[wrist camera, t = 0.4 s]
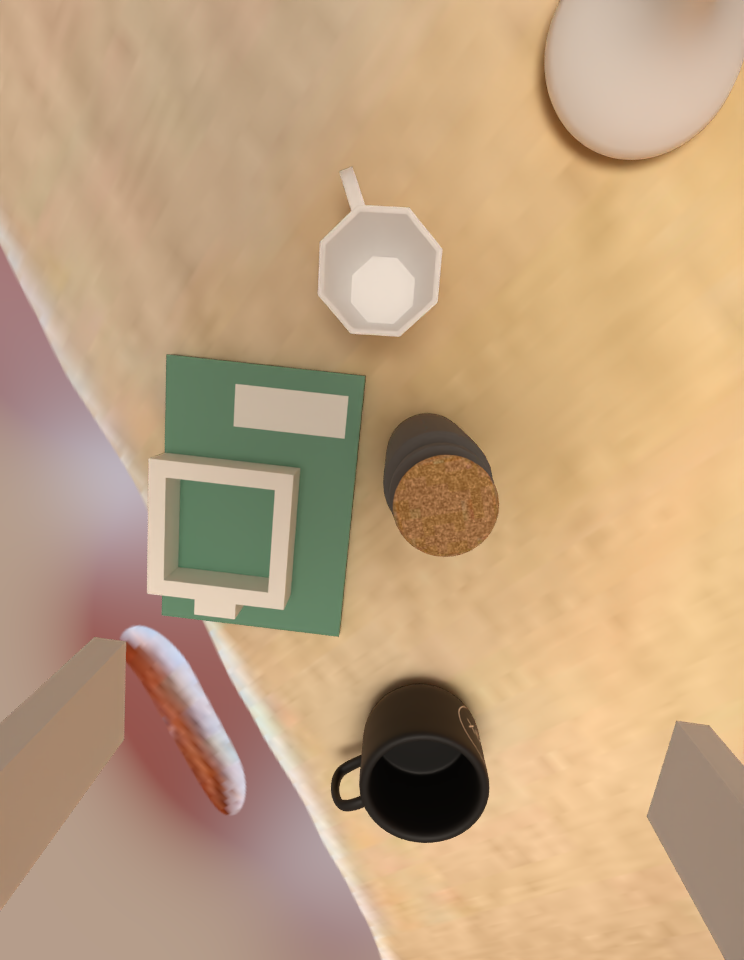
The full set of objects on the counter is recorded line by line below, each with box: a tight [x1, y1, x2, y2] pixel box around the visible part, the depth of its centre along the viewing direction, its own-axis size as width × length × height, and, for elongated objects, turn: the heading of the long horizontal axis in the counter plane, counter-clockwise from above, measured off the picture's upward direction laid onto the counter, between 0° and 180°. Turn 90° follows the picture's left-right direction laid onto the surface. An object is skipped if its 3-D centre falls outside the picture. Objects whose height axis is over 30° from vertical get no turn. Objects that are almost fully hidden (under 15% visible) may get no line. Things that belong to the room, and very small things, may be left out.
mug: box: [331, 684, 489, 843], centre depth 39 cm, size 12×9×7 cm
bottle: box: [383, 414, 499, 557], centre depth 30 cm, size 6×6×15 cm
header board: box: [147, 355, 366, 637], centre depth 37 cm, size 20×14×3 cm
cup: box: [318, 167, 442, 337], centre depth 31 cm, size 7×10×8 cm
